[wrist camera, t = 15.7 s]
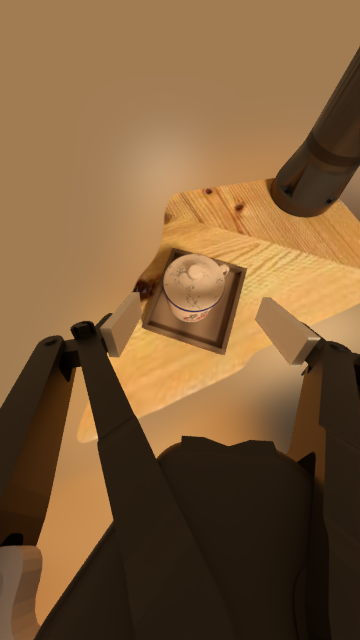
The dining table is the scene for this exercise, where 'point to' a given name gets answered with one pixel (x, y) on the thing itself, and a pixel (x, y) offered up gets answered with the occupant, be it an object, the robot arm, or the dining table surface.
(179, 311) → the teacup with lid
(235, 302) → the walnut tray
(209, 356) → the dining table surface
